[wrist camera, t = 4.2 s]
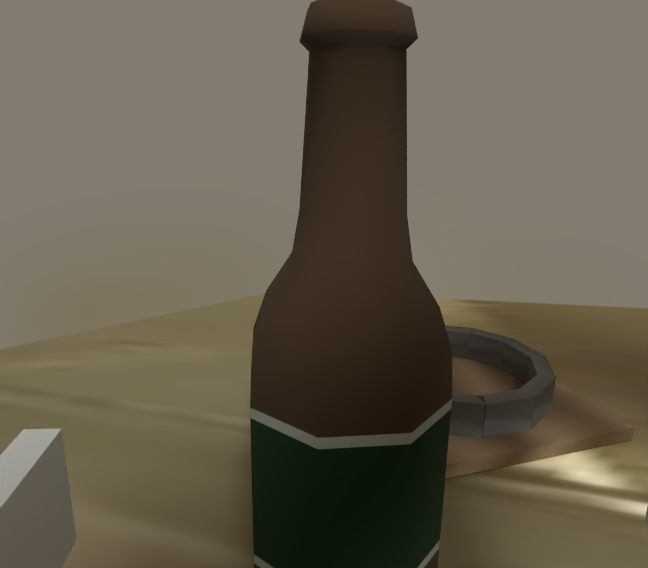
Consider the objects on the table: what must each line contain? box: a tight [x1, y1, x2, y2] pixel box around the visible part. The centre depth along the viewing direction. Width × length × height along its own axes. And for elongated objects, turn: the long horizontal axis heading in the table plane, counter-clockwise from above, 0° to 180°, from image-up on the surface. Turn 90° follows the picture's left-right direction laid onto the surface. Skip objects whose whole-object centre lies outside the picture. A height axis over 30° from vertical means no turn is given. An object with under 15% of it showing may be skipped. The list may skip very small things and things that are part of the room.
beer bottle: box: [250, 0, 452, 568], centre depth 20 cm, size 8×8×24 cm
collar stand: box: [445, 326, 634, 479], centre depth 42 cm, size 18×18×4 cm
